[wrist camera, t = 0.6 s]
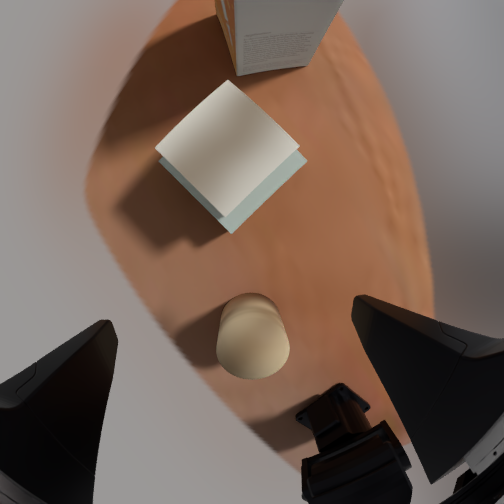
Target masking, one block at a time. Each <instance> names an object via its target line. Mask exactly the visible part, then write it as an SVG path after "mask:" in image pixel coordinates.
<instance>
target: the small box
mask: <svg viewBox="0 0 504 504" xmlns="http://www.w3.org/2000/svg"><path fill="white" fill-rule="evenodd" d="M343 1H344V0H215V7H216V14H217V16H218V19H219V21H220V24H221V26H222V29H223V32H224V36H225V38H226V41H227V45H228V48H229V51H230V55H231V58H232V62H233V65H234V68H235V72H236V75H237V76H242V75H247V74H252V73H258V72H263V71H269V70H276V69H284V68H291V67H299V66H307V65H308V64H309V63H310V61H311V59H312V57H313V55H314V53H315V51H316V49H317V48H318V46H319V44H320V42H321V40H322V38H323V37H324V35H325V33H326V31H327V29H328V28H329V26H330V24H331V22H332V20H333V19H334V17H335V15H336V13H337V12H338V10H339V8H340V6H341V4H342V3H343Z"/></svg>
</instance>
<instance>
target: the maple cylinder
mask: <svg viewBox="0 0 504 504" xmlns="http://www.w3.org/2000/svg"><path fill="white" fill-rule="evenodd" d="M289 351H290V346H289V341H288V338H287V335H286V332H285V329H284V326H283V323H282V319H281V316H280V313H279V310H278V308H277V306H276V305H275V303H274V302H273V301H272V300H270V299H269V298H268V297H266V296H264V295H261V294H257V293H245V294H241V295H238V296H236V297H234V298H233V299H231V300H230V301H229V302H228V303H227V304H226V306H225V307H224V309H223V311H222V315H221V320H220V327H219V333H218V340H217V346H216V353H217V358H218V360H219V362H220V364H221V365H222V367H223V368H224V369H225V370H226V371H228V372H229V373H230V374H232V375H234V376H236V377H239V378H243V379H261V378H265V377H268V376H270V375H272V374H274V373H275V372H277V371H278V370H279V369H280V368H281V367H282V366H283V365H284V364H285V362H286V360H287V358H288V355H289Z"/></svg>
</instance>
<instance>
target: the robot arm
mask: <svg viewBox="0 0 504 504" xmlns="http://www.w3.org/2000/svg"><path fill="white" fill-rule="evenodd" d="M351 318H352V322H353V324H354V326H355V329H356V331H357V333H358V336H359V338H360V341H361V343H362V346H363V348H364V350H365V352H366V354H367V356H368V358H369V360H370V361H371V363H372V365H373V367H374V369H375V371H376V373H377V374H378V376H379V378H380V380H381V382H382V384H383V386H384V388H385V390H386V391H387V393H388V395H389V397H390V399H391V401H392V403H393V405H394V407H395V409H396V411H397V413H398V415H399V417H400V419H401V421H402V423H403V425H404V427H405V429H406V431H407V433H408V435H409V438H410V439H411V442H412V444H413V446H414V449H415V451H416V453H417V455H418V457H419V459H420V462H421V464H422V466H423V468H424V471H425V473H426V475H427V477H428V479H429V482H430V484H433V483H435V482H436V481H438V480H439V479H441V478H443V477H444V476H446V475H447V474H449V473H450V472H451V471H453V470H455V469H456V468H457V467H459V466H460V465H462V464H463V463H464V462H466V463H467V464H468V466H469V467H470V469H468V470H467V471H466V472H465V473H463V474H462V475H461V476H460V477H458V478H457V482H456V485H455V488H454V492H453V495H451V496H450V497H449V498H447V499H446V500H444V501H443V502H441V503H440V504H504V338H502V339H497V338H491V337H488V336H485V335H481V334H477V333H474V332H470V331H467V330H463V329H460V328H457V327H454V326H451V325H448V324H445V323H442V322H438V321H437V320H434V319H431V318H429V317H426V316H423V315H420V314H418V313H415V312H412V311H409V310H406V309H404V308H401V307H398V306H395V305H393V304H390V303H387V302H384V301H382V300H379V299H376V298H373V297H371V296H368V295H358V296H356V297H355V298H354V301H353V307H352V314H351ZM117 346H118V338H117V335H116V333H115V330H114V327H113V324H112V322H111V321H110V320H99V321H98V322H96V323H94V324H93V325H91V326H90V327H88V328H87V329H85V330H84V331H82V332H80V333H79V334H77V335H76V336H74V337H73V338H71V339H70V340H68V341H67V342H65V343H64V344H62V345H61V346H59V347H58V348H56V349H55V350H53V351H52V352H50V353H48V354H47V355H45V356H44V357H42V358H41V359H40V360H38V361H37V362H35V363H33V364H32V365H31V366H29V367H28V368H26V369H24V370H23V371H21V372H20V373H18V374H16V375H15V376H13V377H12V378H10V379H8V380H6V381H5V382H3V383H1V384H0V504H93V492H94V481H95V476H94V475H95V471H96V463H97V456H98V449H99V443H100V437H101V431H102V425H103V420H104V415H105V410H106V405H107V401H108V397H109V392H110V388H111V384H112V379H113V374H114V367H115V360H116V353H117ZM341 387H342V388H341ZM369 409H370V405H369V404H368V403H367V402H366V401H365V400H364V399H362V398H361V397H360V396H359V395H357V394H356V393H355V392H354V391H352V390H351V389H350V388H349V387H348V386H346V385H345V384H344V383H340V384H338V385H337V386H335V387H334V388H333V389H332V390H330V391H329V392H328V393H326V394H325V395H324V396H322V397H321V398H320V399H318V400H317V401H316V402H314V403H313V404H311V405H310V406H309V407H307V408H306V409H304V410H303V411H301V412H300V413H299V414H297V415H296V416H295V418H296V421H298V422H299V423H301V424H303V425H304V426H306V427H308V428H309V429H311V430H312V431H313V435H314V437H315V441H316V444H317V447H318V451H319V454H317V455H314V456H312V457H309V458H304V459H302V466H301V475H302V499H303V500H305V501H307V502H308V503H309V504H410V502H411V497H412V484H411V482H410V480H409V478H408V476H407V474H406V472H405V471H406V470H408V469H409V468H411V467H412V466H411V463H410V461H409V458H408V456H407V454H406V453H405V450H404V449H403V447H402V445H401V443H400V442H399V440H398V439H397V437H396V436H395V434H394V433H393V431H392V430H391V428H390V427H389V425H388V424H387V422H386V421H385V420H383V421H381V422H380V424H378V425H376V426H374V427H373V428H372V427H371V425H370V423H369V421H368V420H367V418H366V416H365V414H364V413H365V412H367V411H368V410H369ZM300 417H301V418H300Z"/></svg>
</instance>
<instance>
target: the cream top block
mask: <svg viewBox="0 0 504 504" xmlns="http://www.w3.org/2000/svg"><path fill="white" fill-rule="evenodd" d="M298 147H300V146H299V145H298V144H297V143H296V142H295V141H294V140H293V139H292V138H291V137H290V136H289V135H288V134H287V133H286V132H285V131H284V130H283V129H282V128H281V127H280V126H279V125H278V124H277V123H276V122H275V121H274V120H273V119H272V118H271V117H270V116H269V115H268V114H266V113H265V112H264V111H263V110H262V109H261V108H260V107H259V106H258V105H257V104H256V103H254V102H253V101H252V100H251V99H250V98H249V97H248V96H246V95H245V94H244V93H243V92H242V91H241V90H240V89H238V88H237V87H236V86H235V85H234V84H232V83H231V82H230V81H229V80H227V81H226V82H224V83H223V84H222V85H221V86H220V87H218V88H217V89H216V90H215V91H214V92H212V93H211V94H210V95H209V96H208V97H207V98H206V99H204V100H203V101H202V102H201V103H200V104H199V105H198V106H197V107H196V108H194V109H193V110H192V111H191V112H190V113H189V114H188V115H187V116H186V117H185V118H184V119H183V120H182V121H181V122H180V123H179V124H178V125H177V126H176V127H175V128H174V129H173V130H172V131H171V132H170V133H169V134H168V135H167V136H166V137H165V138H164V139H163V140H162V141H161V142H160V143H159V144H158V145H157V146H156V147H155V149H156V150H157V151H158V152H159V153H161V154H162V155H163V156H164V157H165V158H166V159H167V160H168V161H169V162H170V163H171V164H172V165H173V166H174V167H175V168H176V169H177V170H178V171H179V172H180V173H181V174H182V175H183V176H184V177H185V178H186V179H187V180H188V181H189V182H190V183H191V184H192V185H193V186H194V187H195V188H196V189H197V190H198V191H199V192H200V193H201V194H202V195H203V196H204V197H205V198H206V199H207V200H208V201H209V202H210V203H211V204H212V205H213V206H214V207H215V208H216V209H217V210H218V211H219V212H220V213H221V214H222V215H223V216H224V217H226V216H227V215H228V214H229V213H230V212H231V211H232V210H234V209H235V208H236V207H237V206H238V205H239V204H240V203H241V202H242V201H243V200H244V199H245V198H246V197H247V196H248V195H249V194H250V193H251V192H252V191H253V190H254V189H255V188H256V187H257V186H258V185H259V184H260V183H261V182H262V181H263V180H264V179H265V178H266V177H267V176H268V175H270V174H271V173H272V172H273V171H274V170H275V169H276V168H277V167H278V166H279V165H280V164H281V163H282V162H283V161H284V160H285V159H287V158H288V157H289V156H290V155H291V154H292V153H293V152H294V151H295V150H296V149H297V148H298Z"/></svg>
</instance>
